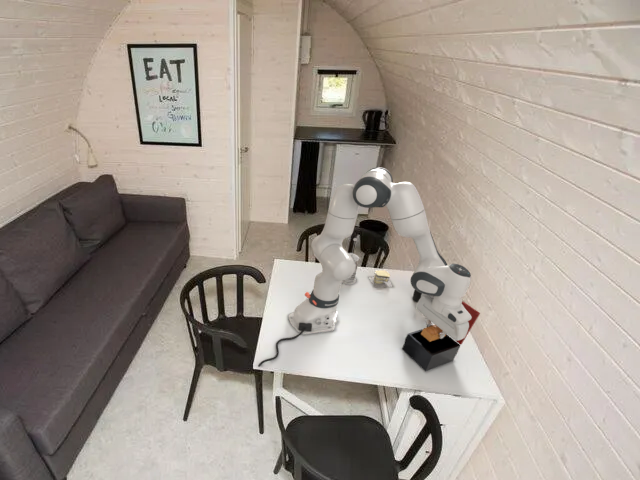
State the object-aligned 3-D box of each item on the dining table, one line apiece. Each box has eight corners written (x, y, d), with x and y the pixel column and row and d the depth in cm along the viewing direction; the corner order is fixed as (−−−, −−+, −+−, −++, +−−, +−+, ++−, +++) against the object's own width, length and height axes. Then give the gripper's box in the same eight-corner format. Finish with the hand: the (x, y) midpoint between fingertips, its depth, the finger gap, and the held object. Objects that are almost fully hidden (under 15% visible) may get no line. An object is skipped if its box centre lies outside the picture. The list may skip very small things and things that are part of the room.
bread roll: (429, 341, 136) (433, 333, 133) (420, 334, 139) (424, 325, 137) (445, 336, 138) (449, 328, 136) (436, 328, 142) (439, 320, 139)
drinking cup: (419, 306, 171) (432, 272, 160) (406, 298, 177) (417, 264, 166) (429, 301, 175) (442, 267, 164) (415, 293, 180) (427, 260, 169)
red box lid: (479, 313, 130) (480, 313, 130) (450, 293, 139) (451, 293, 140) (460, 344, 137) (461, 344, 138) (434, 324, 147) (435, 323, 147)
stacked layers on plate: (374, 286, 184) (376, 278, 181) (368, 277, 192) (370, 268, 189) (393, 286, 184) (395, 278, 181) (386, 277, 192) (389, 268, 189)
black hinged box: (425, 371, 138) (432, 355, 133) (402, 349, 148) (407, 333, 143) (453, 360, 143) (460, 345, 138) (428, 339, 152) (434, 324, 148)
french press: (358, 284, 186) (368, 243, 172) (336, 284, 186) (344, 243, 172) (353, 273, 194) (362, 233, 181) (332, 274, 194) (339, 233, 180)
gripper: (417, 290, 137) (408, 317, 145) (462, 324, 121) (449, 352, 129) (429, 287, 139) (420, 313, 147) (476, 319, 123) (462, 347, 131)
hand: (434, 332), depth 138 cm, fingers closed on bread roll, 4 cm apart
